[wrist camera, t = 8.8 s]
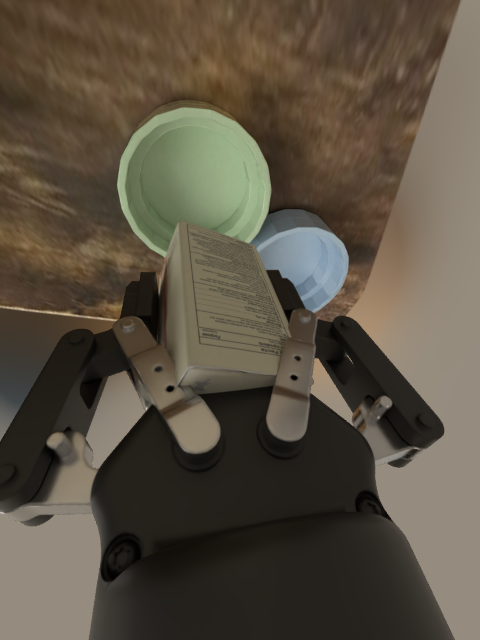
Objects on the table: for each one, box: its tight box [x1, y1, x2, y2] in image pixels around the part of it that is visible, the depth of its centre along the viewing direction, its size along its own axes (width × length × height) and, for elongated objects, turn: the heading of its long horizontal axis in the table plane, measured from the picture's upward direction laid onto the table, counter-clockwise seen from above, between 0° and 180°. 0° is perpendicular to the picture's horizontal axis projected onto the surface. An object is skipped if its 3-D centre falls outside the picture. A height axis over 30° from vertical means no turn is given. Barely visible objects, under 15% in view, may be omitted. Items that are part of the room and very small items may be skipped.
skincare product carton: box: [157, 221, 314, 394], centre depth 14 cm, size 5×4×10 cm
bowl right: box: [249, 209, 349, 313], centre depth 35 cm, size 13×13×5 cm
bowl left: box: [117, 100, 271, 257], centre depth 27 cm, size 13×13×5 cm
